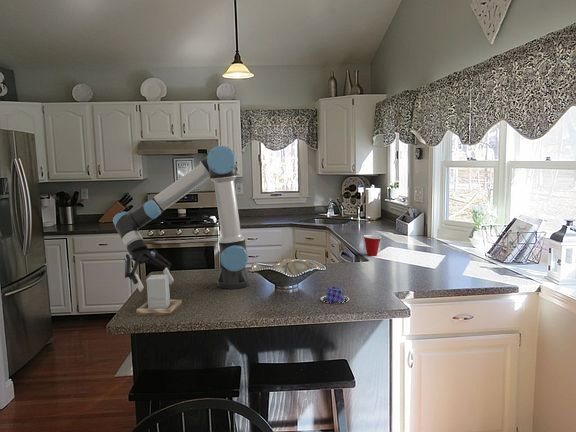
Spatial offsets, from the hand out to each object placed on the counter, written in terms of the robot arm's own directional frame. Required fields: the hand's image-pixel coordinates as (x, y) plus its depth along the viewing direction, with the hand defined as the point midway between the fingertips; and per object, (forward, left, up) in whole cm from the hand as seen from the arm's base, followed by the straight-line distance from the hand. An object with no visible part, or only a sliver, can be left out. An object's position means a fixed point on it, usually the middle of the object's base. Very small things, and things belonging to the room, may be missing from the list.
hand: (157, 285), depth 186 cm
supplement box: (0, 0, -9) cm, 9 cm away
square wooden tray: (0, 0, -10) cm, 10 cm away
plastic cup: (-91, -108, -10) cm, 142 cm away
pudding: (-70, -17, -10) cm, 72 cm away
